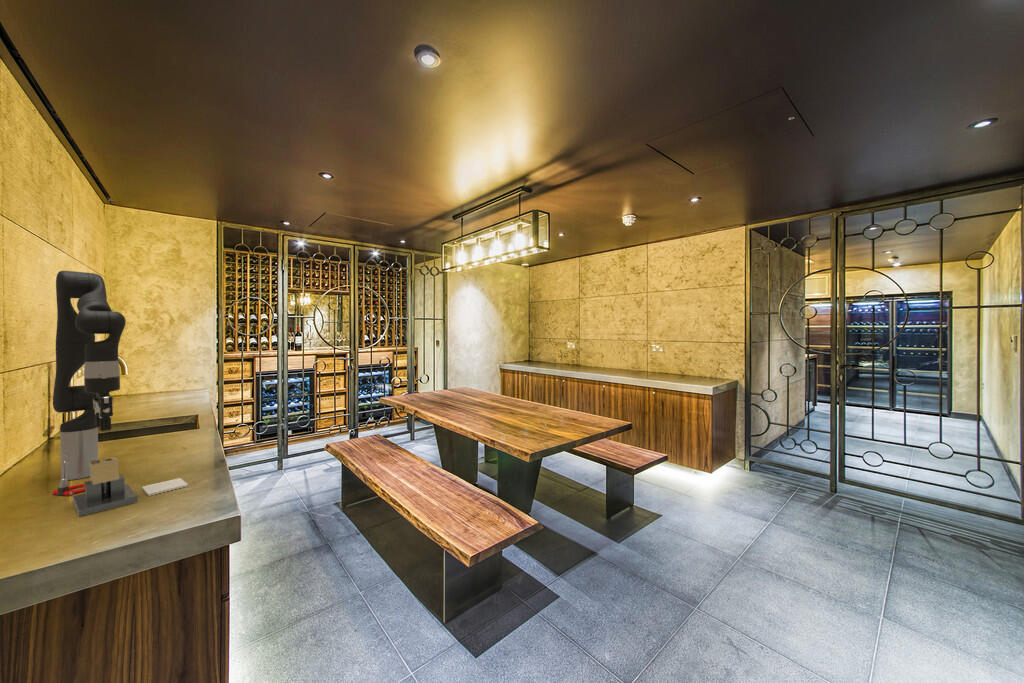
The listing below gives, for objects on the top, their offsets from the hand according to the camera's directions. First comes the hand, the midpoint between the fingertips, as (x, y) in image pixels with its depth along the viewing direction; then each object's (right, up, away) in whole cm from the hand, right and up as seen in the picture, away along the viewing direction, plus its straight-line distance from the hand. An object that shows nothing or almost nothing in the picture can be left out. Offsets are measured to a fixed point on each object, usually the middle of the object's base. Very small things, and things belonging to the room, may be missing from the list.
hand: (103, 428), depth 119 cm
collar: (0, -16, 0) cm, 16 cm away
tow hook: (-19, -23, +10) cm, 32 cm away
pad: (+9, -23, +12) cm, 27 cm away
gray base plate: (0, -23, 0) cm, 23 cm away
